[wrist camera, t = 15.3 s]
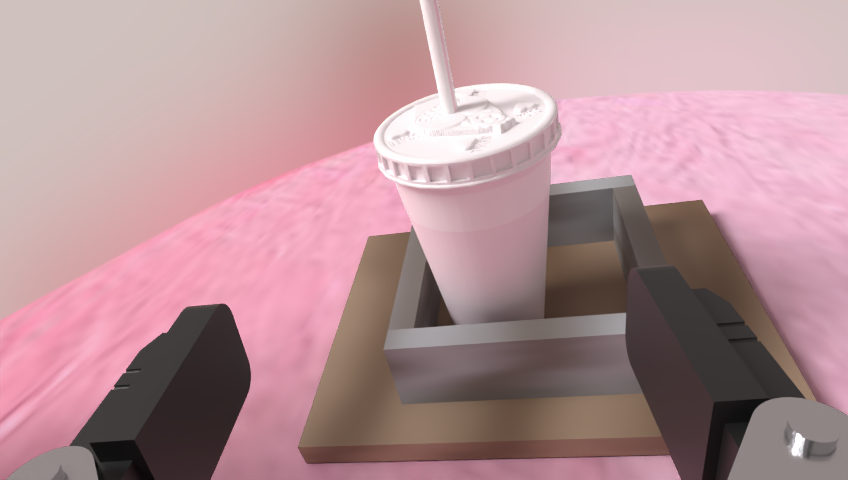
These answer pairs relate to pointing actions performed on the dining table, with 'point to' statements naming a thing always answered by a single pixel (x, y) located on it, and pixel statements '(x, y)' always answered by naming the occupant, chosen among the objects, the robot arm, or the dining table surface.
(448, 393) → the collar board
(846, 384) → the dining table surface
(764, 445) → the robot arm
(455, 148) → the smoothie
